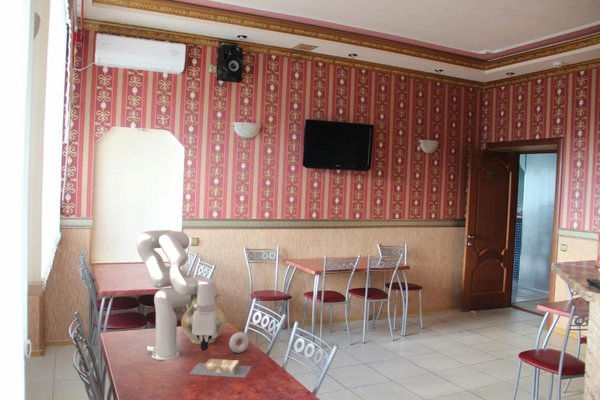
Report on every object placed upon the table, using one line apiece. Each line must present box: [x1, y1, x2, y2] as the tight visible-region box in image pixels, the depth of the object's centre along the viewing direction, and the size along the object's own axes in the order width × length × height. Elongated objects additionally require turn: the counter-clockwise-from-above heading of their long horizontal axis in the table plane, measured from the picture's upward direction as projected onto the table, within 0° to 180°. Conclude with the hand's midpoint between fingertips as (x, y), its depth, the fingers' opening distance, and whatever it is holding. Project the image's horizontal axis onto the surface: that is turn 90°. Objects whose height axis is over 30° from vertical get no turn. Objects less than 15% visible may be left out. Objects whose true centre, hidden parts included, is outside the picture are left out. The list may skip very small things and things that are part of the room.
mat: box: [189, 362, 253, 379], centre depth 222 cm, size 24×14×1 cm, turn 84°
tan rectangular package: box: [204, 358, 240, 375], centre depth 222 cm, size 3×9×13 cm
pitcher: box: [180, 293, 226, 345], centre depth 266 cm, size 22×24×25 cm
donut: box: [228, 331, 250, 354], centre depth 248 cm, size 10×4×10 cm, turn 121°
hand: (204, 350), depth 223 cm, fingers closed
